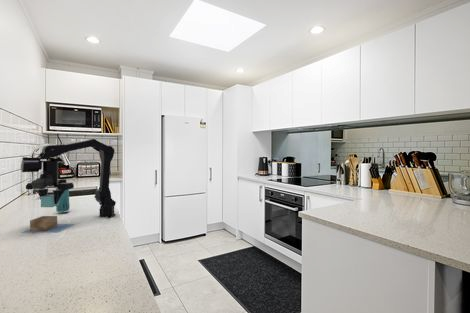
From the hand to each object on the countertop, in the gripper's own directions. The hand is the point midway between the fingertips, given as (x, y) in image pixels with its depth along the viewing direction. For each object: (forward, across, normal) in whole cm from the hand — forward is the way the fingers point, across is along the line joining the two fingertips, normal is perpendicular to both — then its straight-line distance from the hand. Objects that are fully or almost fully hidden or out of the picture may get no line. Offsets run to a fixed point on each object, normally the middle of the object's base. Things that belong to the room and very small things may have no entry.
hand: (50, 204), depth 112 cm
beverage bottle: (+12, -13, +27) cm, 32 cm away
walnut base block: (+11, -1, -3) cm, 11 cm away
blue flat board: (+12, +1, -2) cm, 12 cm away
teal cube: (+1, 0, 0) cm, 1 cm away
